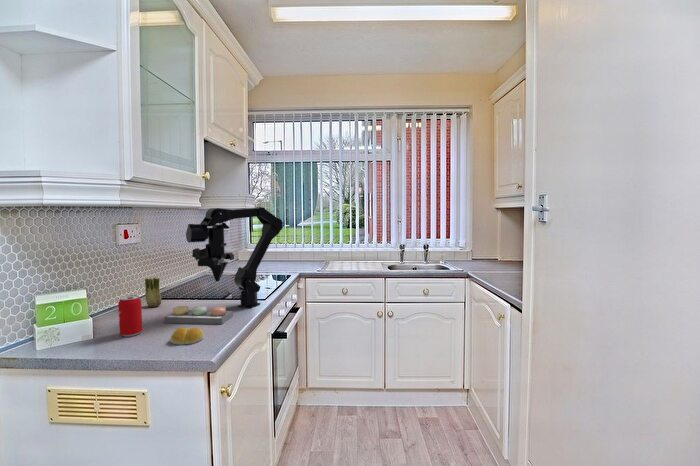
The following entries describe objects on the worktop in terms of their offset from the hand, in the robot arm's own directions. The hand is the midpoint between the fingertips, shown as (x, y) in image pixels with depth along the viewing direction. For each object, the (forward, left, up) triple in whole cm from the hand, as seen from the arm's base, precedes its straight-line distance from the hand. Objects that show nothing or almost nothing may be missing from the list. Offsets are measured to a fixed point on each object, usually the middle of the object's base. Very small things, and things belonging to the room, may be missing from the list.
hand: (217, 281), depth 137 cm
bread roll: (+26, +14, -12) cm, 32 cm away
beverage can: (+30, -7, -12) cm, 33 cm away
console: (+10, +1, -12) cm, 16 cm away
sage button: (+10, +1, -10) cm, 14 cm away
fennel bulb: (+5, -30, -12) cm, 33 cm away
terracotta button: (+8, +8, -10) cm, 15 cm away
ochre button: (+12, -6, -10) cm, 17 cm away
